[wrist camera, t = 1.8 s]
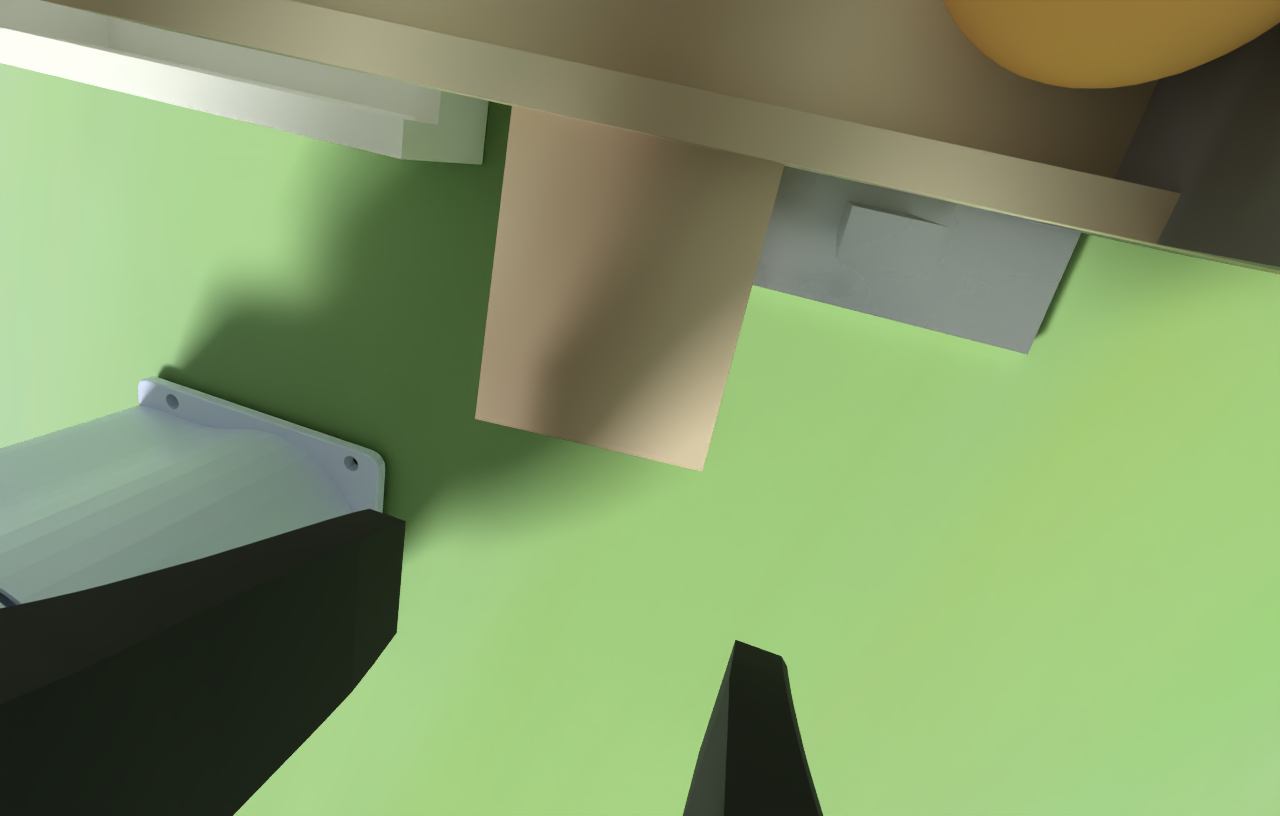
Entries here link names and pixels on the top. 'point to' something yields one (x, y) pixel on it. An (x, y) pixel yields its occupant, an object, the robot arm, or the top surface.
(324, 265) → the top surface
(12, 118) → the top surface
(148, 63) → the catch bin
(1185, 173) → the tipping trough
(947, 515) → the top surface
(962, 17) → the ball
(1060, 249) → the lever stand
